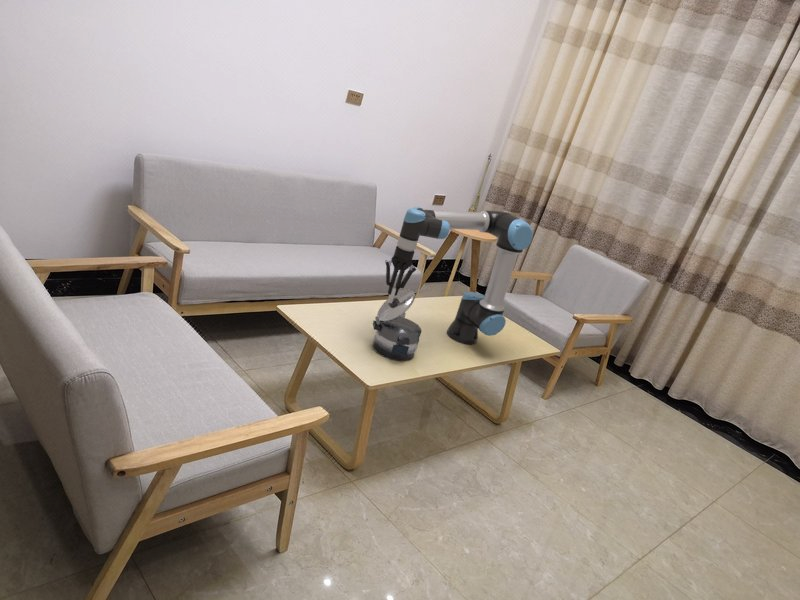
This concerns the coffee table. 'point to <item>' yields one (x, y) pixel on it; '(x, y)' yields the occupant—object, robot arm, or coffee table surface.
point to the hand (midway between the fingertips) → (389, 301)
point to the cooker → (396, 339)
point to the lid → (395, 306)
